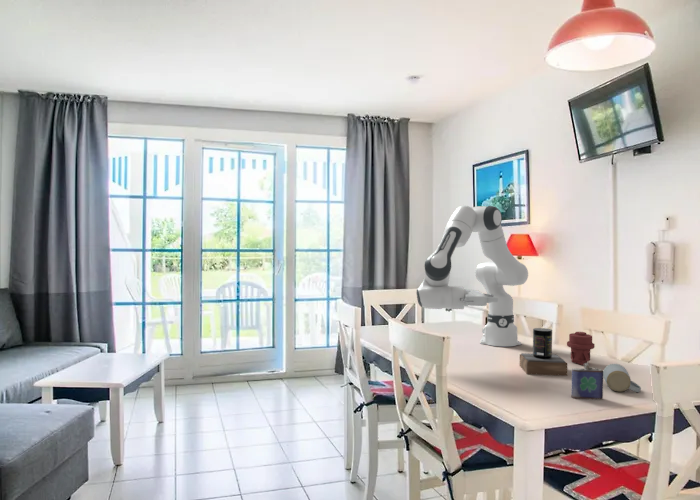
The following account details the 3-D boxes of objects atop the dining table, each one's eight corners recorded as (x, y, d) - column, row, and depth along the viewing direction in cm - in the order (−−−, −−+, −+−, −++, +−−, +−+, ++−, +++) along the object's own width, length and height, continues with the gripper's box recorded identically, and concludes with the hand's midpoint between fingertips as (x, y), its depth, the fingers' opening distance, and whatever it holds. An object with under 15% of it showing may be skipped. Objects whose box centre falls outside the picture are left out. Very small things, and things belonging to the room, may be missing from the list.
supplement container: (553, 356, 190) (553, 328, 190) (550, 360, 184) (551, 331, 184) (534, 354, 193) (534, 327, 193) (531, 358, 187) (531, 330, 187)
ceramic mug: (606, 391, 162) (606, 368, 162) (602, 385, 170) (603, 362, 170) (643, 395, 159) (644, 371, 158) (637, 388, 166) (638, 365, 166)
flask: (572, 398, 154) (573, 364, 154) (569, 395, 157) (570, 361, 157) (604, 399, 154) (604, 364, 153) (600, 397, 156) (600, 362, 156)
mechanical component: (590, 361, 204) (597, 367, 195) (564, 359, 206) (569, 365, 197) (590, 330, 204) (597, 335, 194) (564, 329, 206) (570, 334, 196)
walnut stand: (519, 365, 196) (519, 352, 196) (557, 366, 194) (557, 354, 194) (527, 374, 183) (527, 360, 183) (567, 375, 181) (567, 361, 181)
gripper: (461, 292, 185) (500, 292, 183) (456, 287, 205) (491, 287, 204) (461, 309, 185) (500, 310, 184) (456, 302, 206) (491, 302, 204)
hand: (495, 298), depth 194 cm, fingers open, 8 cm apart
